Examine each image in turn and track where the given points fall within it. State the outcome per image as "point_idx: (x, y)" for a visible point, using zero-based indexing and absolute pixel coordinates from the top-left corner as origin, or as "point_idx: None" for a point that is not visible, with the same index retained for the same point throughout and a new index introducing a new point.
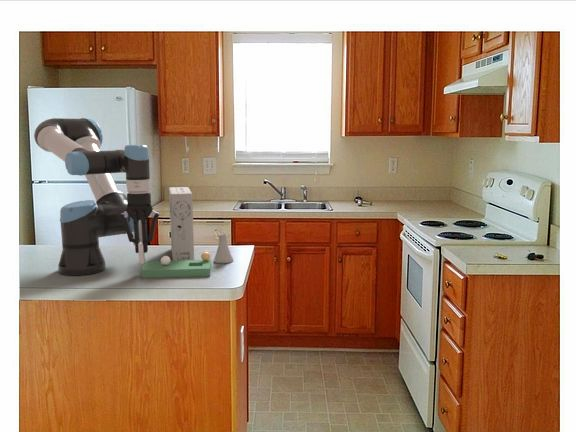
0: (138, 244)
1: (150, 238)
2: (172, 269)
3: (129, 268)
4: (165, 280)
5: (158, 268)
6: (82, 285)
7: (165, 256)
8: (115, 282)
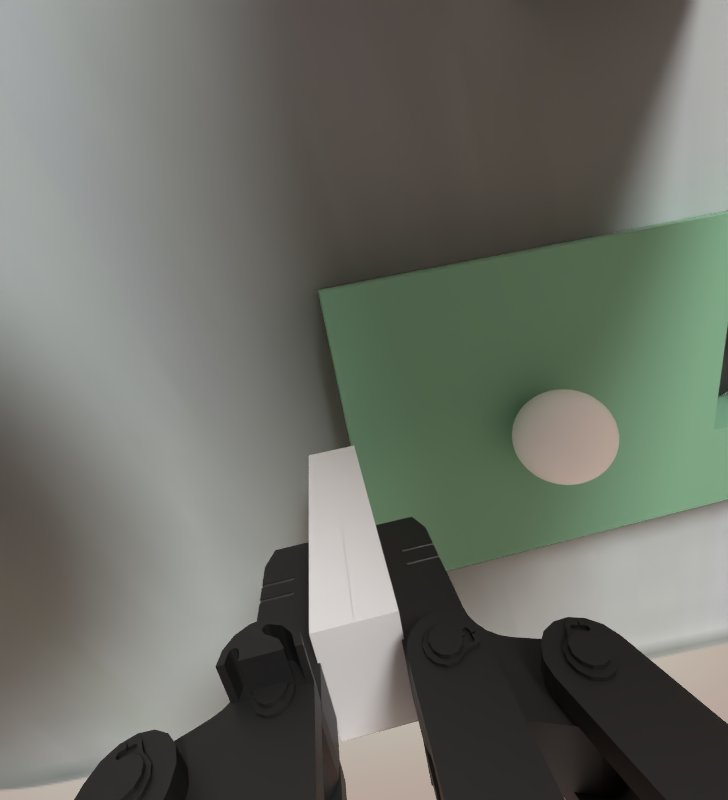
0: (344, 731)
1: (619, 797)
2: (603, 528)
3: (141, 311)
4: (532, 566)
5: (497, 522)
6: (65, 734)
7: (596, 469)
8: None
